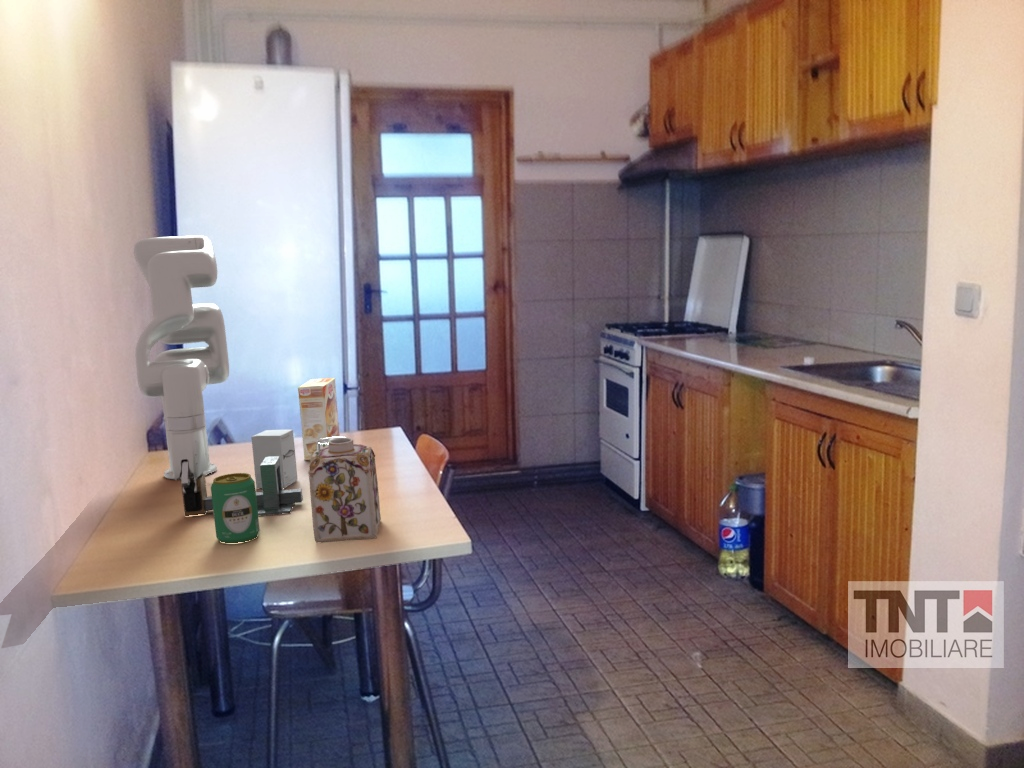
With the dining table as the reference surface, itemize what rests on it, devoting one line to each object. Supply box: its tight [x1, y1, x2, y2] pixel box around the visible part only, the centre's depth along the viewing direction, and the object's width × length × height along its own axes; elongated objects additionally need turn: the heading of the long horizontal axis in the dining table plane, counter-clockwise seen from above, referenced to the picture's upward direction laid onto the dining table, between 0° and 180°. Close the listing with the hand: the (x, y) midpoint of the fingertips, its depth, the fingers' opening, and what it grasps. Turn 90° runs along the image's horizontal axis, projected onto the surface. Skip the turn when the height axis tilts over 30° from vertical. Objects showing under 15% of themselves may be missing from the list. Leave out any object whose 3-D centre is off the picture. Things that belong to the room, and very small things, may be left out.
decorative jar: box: [307, 437, 382, 543], centre depth 169 cm, size 12×12×18 cm
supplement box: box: [251, 429, 298, 489], centre depth 208 cm, size 7×7×13 cm
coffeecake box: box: [297, 377, 341, 461], centre depth 238 cm, size 15×7×20 cm, turn 179°
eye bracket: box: [257, 456, 295, 516], centre depth 190 cm, size 12×8×10 cm, turn 7°
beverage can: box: [210, 472, 261, 543], centre depth 169 cm, size 8×8×12 cm
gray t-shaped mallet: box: [180, 474, 304, 517], centre depth 189 cm, size 4×24×8 cm, turn 97°
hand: (196, 506), depth 188 cm, fingers closed on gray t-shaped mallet, 4 cm apart
